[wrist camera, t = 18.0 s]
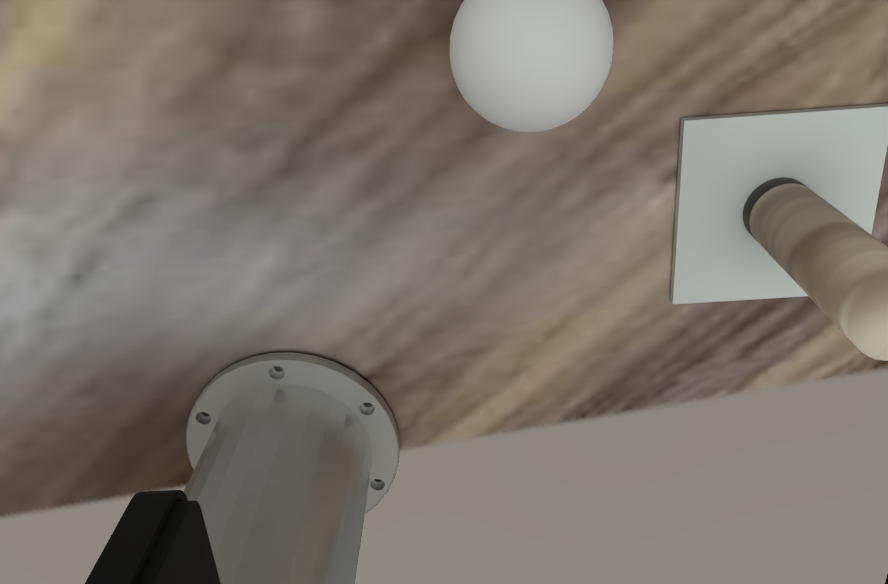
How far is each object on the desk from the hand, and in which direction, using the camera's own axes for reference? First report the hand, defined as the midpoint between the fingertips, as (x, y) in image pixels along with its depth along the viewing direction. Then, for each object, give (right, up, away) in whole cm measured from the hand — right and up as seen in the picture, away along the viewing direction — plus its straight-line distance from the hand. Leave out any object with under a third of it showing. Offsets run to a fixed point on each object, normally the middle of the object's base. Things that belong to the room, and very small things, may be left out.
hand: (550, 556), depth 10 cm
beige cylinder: (+16, +8, +29) cm, 34 cm away
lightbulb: (+2, +16, +26) cm, 31 cm away
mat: (+16, +8, +30) cm, 34 cm away
